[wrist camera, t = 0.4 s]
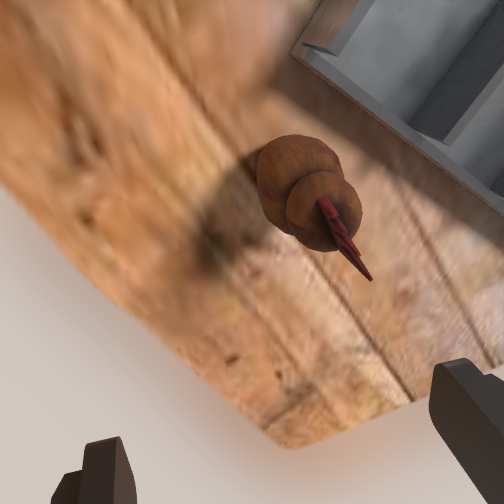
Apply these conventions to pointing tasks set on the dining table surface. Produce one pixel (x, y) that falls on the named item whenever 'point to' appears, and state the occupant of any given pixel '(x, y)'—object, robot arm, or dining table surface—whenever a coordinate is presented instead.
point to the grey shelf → (421, 77)
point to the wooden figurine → (310, 196)
